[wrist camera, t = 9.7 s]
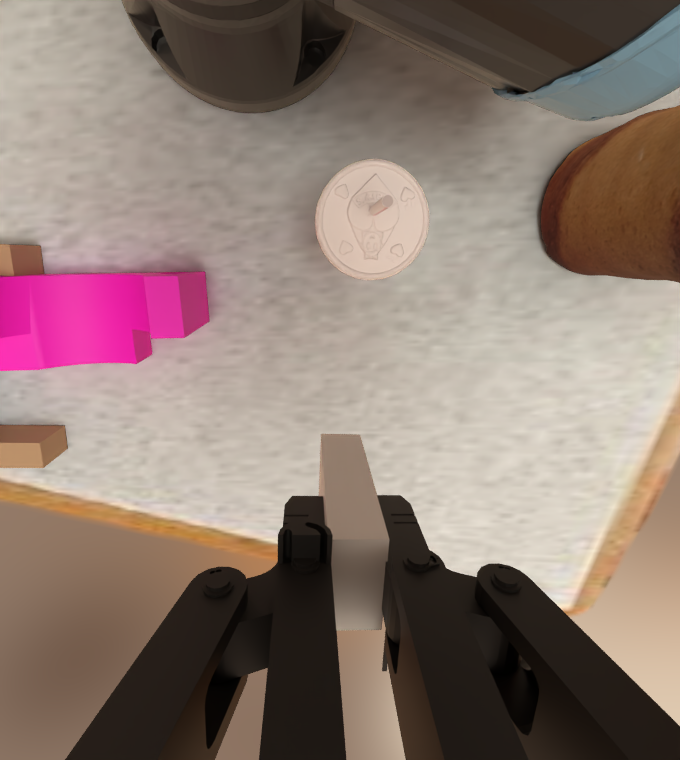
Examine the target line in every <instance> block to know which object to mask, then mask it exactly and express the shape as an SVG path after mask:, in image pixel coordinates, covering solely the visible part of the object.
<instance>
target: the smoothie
mask: <svg viewBox="0 0 680 760" xmlns="http://www.w3.org/2000/svg"><path fill="white" fill-rule="evenodd" d="M315 228H316V236H317V239H318V242H319V244H320V247H321V250H322V251H323V253H324V254H325V256H326V257H327V259H328V260H329V262H330V263H331V264H333V265H334V266H335V267H336V268H337V269H338V270H340V271H341V272H343V273H345V274H347V275H349V276H351V277H353V278H357V279H363V280H377V279H384V278H387V277H390V276H393V275H395V274H397V273H399V272H400V271H402V270H403V269H405V268H406V267H407V266H408V265H410V264H411V263H412V262H413V261H414V259H415V258H416V257H417V256H418V254H419V253H420V251H421V249H422V247H423V245H424V243H425V240H426V237H427V234H428V229H429V208H428V203H427V200H426V197H425V194H424V192H423V190H422V188H421V186H420V185H419V183H418V182H417V180H416V179H415V178H414V177H413V176H412V175H411V174H410V173H409V172H408V171H407V170H405V169H404V168H402V167H401V166H399V165H397V164H395V163H393V162H390V161H386V160H381V159H367V160H361V161H358V162H355V163H352V164H350V165H348V166H346V167H345V168H343V169H342V170H340V171H339V172H338V173H337V174H336V175H335V176H334V177H333V178H332V179H331V180H330V181H329V183H328V184H327V185H326V187H325V188H324V189H323V191H322V194H321V196H320V198H319V201H318V203H317V208H316V214H315Z"/></svg>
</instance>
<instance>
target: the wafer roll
mask: <svg viewBox="0 0 680 760" xmlns="http://www.w3.org/2000/svg"><path fill="white" fill-rule="evenodd" d="M541 232H542V237H543V241H544V243H545V244H546V249H547V254H548V255H549V256H550V257H551V258H552V259H553V260H554V261H555V262H557V263H558V264H560V265H561V266H563V267H565V268H566V269H568V270H570V271H572V272H575V273H579V274H584V275H608V276H616V277H623V278H632V279H644V280H670V281H675V282H679V283H680V105H679V106H677V107H673V108H668V109H663V110H657V111H653V112H649V113H646V114H643V115H641V116H638V117H636V118H634V119H632V120H630V121H629V122H627V123H625V124H623V125H621V126H619V127H617V128H615V129H613V130H611V131H609V132H607V133H605V134H603V135H600V136H598V137H595V138H593V139H591V140H589V141H587V142H585V143H583V144H582V145H580V146H579V147H577V148H576V149H575V150H574V151H572V152H571V153H570V154H569V155H568V156H567V158H566V159H565V161H564V162H563V163H562V164H561V166H560V167H559V168H558V169H557V171H556V172H555V174H554V175H553V177H552V178H551V180H550V182H549V184H548V187H547V190H546V193H545V196H544V200H543V204H542V210H541Z"/></svg>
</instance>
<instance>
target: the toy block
mask: <svg viewBox="0 0 680 760" xmlns="http://www.w3.org/2000/svg"><path fill="white" fill-rule="evenodd" d="M207 322H209V311H208V300H207V289H206V278H205V272H158V273H88V274H38V275H23V276H0V371H11V370H40V369H46V368H52V367H60V366H68V365H78V364H91V363H132V364H137V363H139V362H141V361H142V360H144V359H145V358H147V357H148V356H150V355H152V348H151V340H150V333H151V339H153V338H185V337H186V336H188V335H189V334H191V333H192V332H194V331H195V330H197V329H198V328H200V327H201V326H203V325H204V324H206V323H207Z"/></svg>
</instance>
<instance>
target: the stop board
mask: <svg viewBox="0 0 680 760" xmlns="http://www.w3.org/2000/svg"><path fill="white" fill-rule="evenodd" d="M38 274H44V269H43V262H42V254H41V247H40V246H31V245H5V244H0V276H23V275H38ZM66 449H68V447H67V440H66V432H65V426H46V425H0V468H44V467H45V466H46V465H48V464H49V463H50V462H51V461H53V460H54V459H55V458H56V457H58V456H59V455H60V454H61V453H63V452H64V451H65V450H66Z"/></svg>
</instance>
